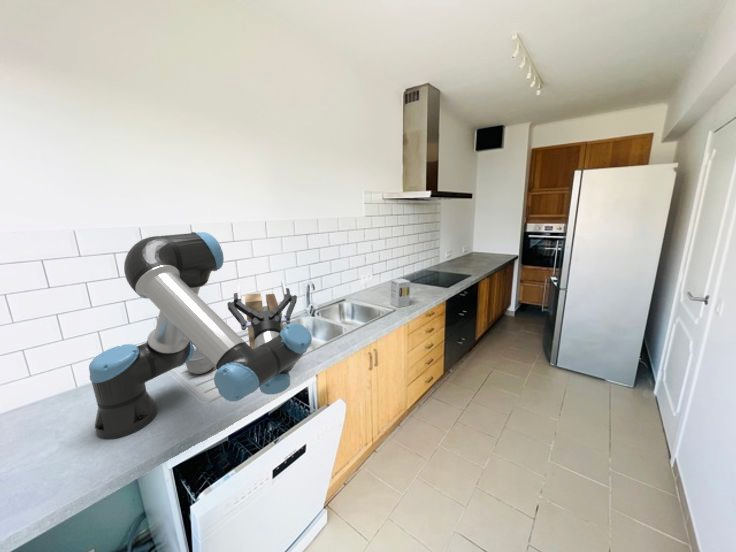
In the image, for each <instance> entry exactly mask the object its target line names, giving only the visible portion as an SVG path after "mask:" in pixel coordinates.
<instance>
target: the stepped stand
mask: <svg viewBox="0 0 736 552" xmlns="http://www.w3.org/2000/svg"><path fill="white" fill-rule="evenodd" d="M244 300H245V302H244V303H245V304H244V305H246V306H247V307H249V308H250V309H252V310H255V311H256V312H260V311H267V310H268V307H267V305H265V306H264V305H263V298H262V295H261V293H260V292H259V293H248V294H247V293H246V294H244ZM281 318H283V311H282V312H281ZM246 320H248V322H251V321H252V320H251V318H250V317H248V316H247V315H246ZM280 325H281V330H282V329H284V322H281V324H280ZM247 332H248V333H247V334H248V343H249V344H248V345H249V346H250V347H251V348H252V349H255V340H254V331H253V327H247Z"/></svg>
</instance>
